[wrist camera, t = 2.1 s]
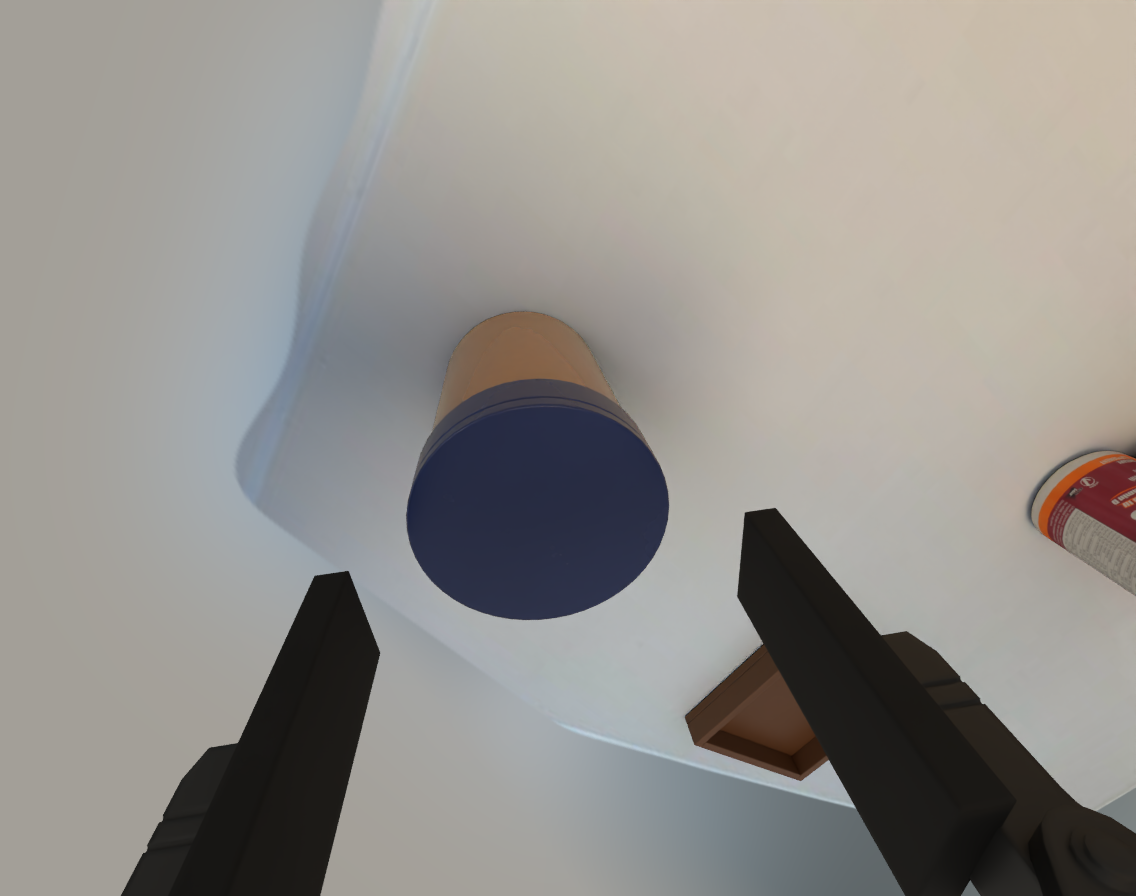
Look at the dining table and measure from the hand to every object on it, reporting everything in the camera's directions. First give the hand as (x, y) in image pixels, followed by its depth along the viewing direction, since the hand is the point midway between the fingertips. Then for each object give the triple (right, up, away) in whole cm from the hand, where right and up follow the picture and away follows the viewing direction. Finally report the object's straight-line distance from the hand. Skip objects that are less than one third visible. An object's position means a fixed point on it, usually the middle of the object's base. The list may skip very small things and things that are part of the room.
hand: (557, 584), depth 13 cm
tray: (+16, -14, +25) cm, 33 cm away
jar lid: (-1, +1, +2) cm, 3 cm away
